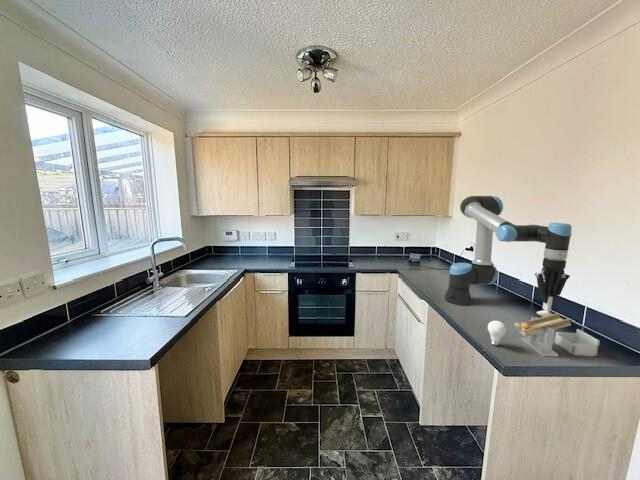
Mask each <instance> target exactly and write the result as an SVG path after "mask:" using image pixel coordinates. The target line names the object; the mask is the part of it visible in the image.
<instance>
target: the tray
mask: <svg viewBox="0 0 640 480" xmlns="http://www.w3.org/2000/svg"><path fill="white" fill-rule="evenodd" d="M575 330H576V331H575V332H560V331H555V335H554V337H555V338H554V341H553V343H554V344H556V345H558V347H561V348H562V349H563V350H564V351H565V352H567V353H569V354H570V355H572V356H576V357H577V356H580V357H582V356H583V357H594V356H598V351H599V346H600V339H597V338H595V337H594V336H592V335H590V334H588V333H586V332H585V331H583V330H582V329H579V328H577V329H575Z"/></svg>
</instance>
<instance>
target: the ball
mask: <svg viewBox="0 0 640 480" xmlns="http://www.w3.org/2000/svg"><path fill="white" fill-rule="evenodd" d="M521 323H522V322H521ZM521 327H523V328H524V329H530V326H529V325H528V324H527V323H522V324H521Z"/></svg>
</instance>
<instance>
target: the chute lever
mask: <svg viewBox="0 0 640 480" xmlns="http://www.w3.org/2000/svg"><path fill="white" fill-rule="evenodd" d="M536 314H537V315H539V316H540V317H537V318H538V319H534V320H531V319H530V320H527V321H526V320H525V321H524V322H523V321H522V322H519V323H518V322H515V323H514V327H515V330H516V331H517V332H519V333H520V334H521V335H522V336H523V337H528V336H531V335H535V334H537V335H538V334H543V333H545V330H546V327H553V328H555V330H557V329H561V328H565V327H566V328H567V327H570V326H572V323H571V320H570V318H566V319H563V318H561V316H560V315H561V314H560V313H558V312H556V313H553V312H551V311H547V310H545V309H542V310H538V311H536ZM522 323H527V324H528V325H529V326H530V329H524V328H523V327H521V324H522Z"/></svg>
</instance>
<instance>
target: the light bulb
mask: <svg viewBox="0 0 640 480" xmlns="http://www.w3.org/2000/svg"><path fill="white" fill-rule="evenodd" d="M487 331H488V332H489V334H490V339H491V340H490V344H492V345H493V346H498V345H499V344H500V341H501V338H503V336H504V335H505V334H506V332H507V328H506V326H505V324H504V323H503V322H501V321H499V320H492V321H490V322H489V323H488V324H487Z"/></svg>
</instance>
